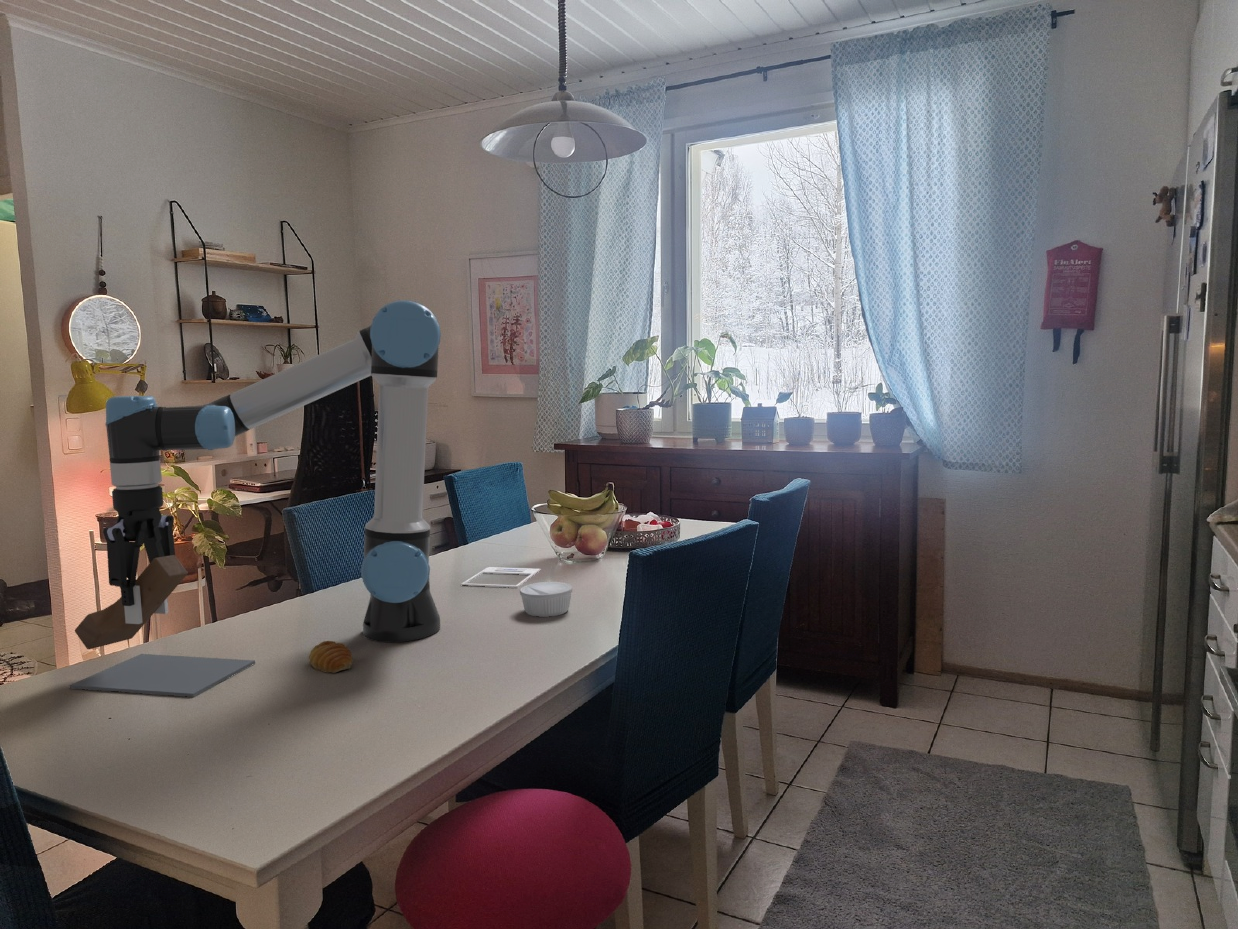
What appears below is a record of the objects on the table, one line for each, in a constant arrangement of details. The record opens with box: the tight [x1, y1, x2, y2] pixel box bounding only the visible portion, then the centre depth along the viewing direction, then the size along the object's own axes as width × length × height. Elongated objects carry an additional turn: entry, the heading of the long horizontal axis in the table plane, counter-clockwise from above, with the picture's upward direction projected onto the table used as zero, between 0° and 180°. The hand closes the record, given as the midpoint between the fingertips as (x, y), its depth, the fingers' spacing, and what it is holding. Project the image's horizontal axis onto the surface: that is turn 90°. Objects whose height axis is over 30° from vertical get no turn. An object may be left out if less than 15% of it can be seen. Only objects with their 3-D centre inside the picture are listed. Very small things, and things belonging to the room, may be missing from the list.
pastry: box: [308, 640, 353, 674], centre depth 151 cm, size 9×7×4 cm
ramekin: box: [519, 581, 573, 618], centre depth 182 cm, size 11×11×5 cm
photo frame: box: [460, 566, 542, 589], centre depth 213 cm, size 15×1×18 cm
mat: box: [69, 653, 256, 698], centre depth 147 cm, size 24×16×1 cm, turn 78°
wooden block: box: [74, 554, 188, 650], centre depth 145 cm, size 9×4×18 cm
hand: (147, 617), depth 147 cm, fingers closed on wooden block, 5 cm apart
